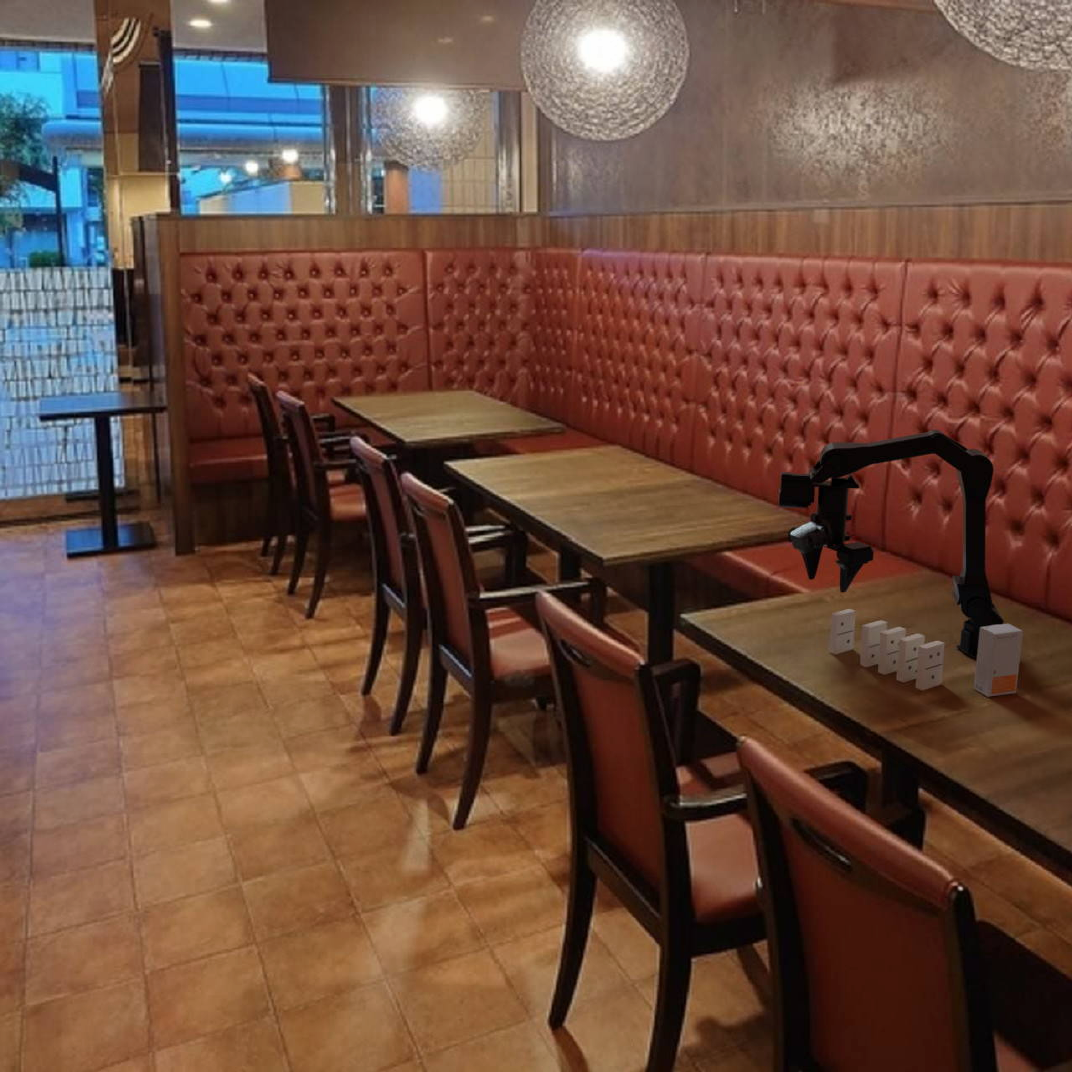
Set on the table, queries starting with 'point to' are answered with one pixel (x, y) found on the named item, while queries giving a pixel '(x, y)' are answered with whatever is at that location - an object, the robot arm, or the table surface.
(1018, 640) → the skincare box
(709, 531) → the table surface
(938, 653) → the domino
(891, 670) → the domino
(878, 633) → the domino
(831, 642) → the domino
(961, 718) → the table surface
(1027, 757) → the table surface
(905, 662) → the domino
